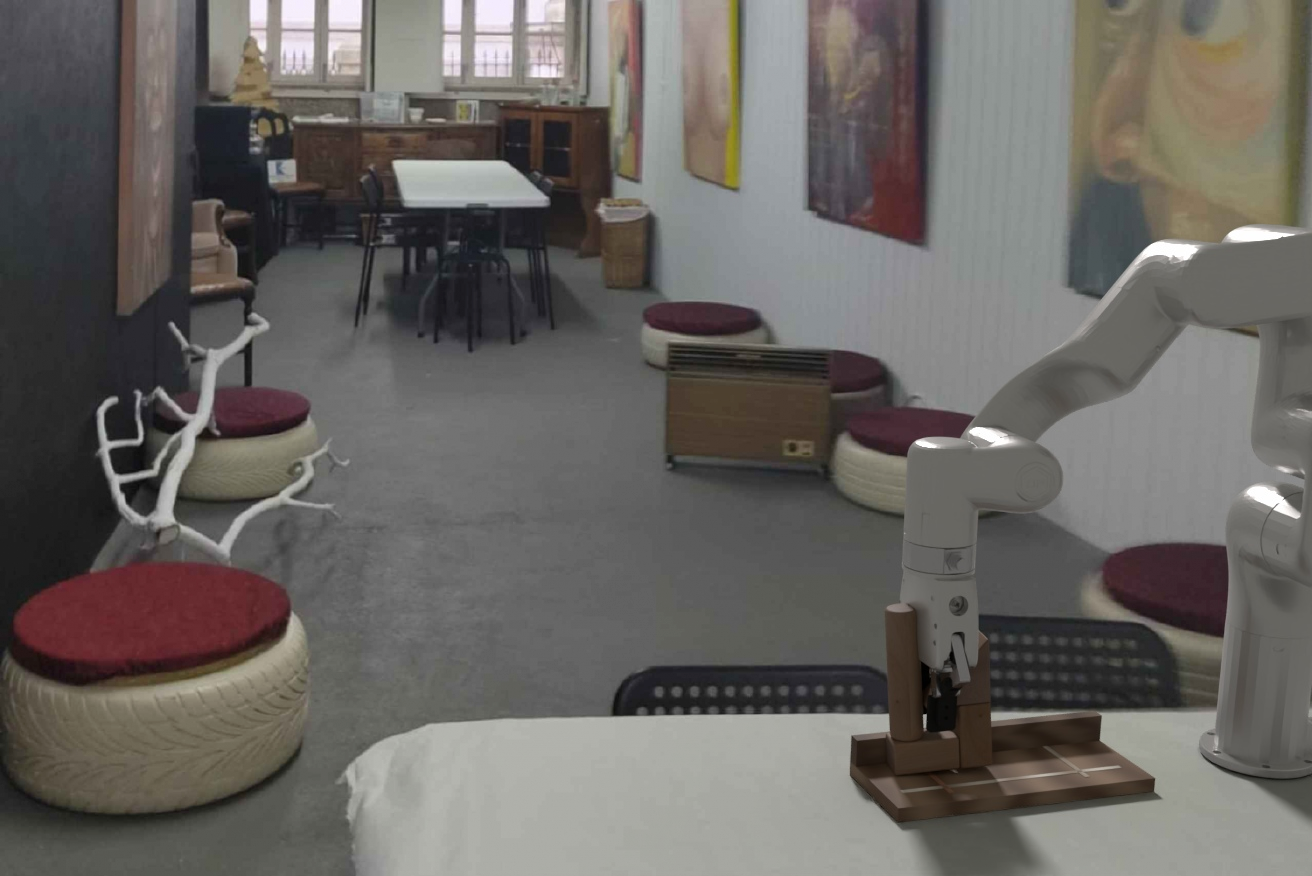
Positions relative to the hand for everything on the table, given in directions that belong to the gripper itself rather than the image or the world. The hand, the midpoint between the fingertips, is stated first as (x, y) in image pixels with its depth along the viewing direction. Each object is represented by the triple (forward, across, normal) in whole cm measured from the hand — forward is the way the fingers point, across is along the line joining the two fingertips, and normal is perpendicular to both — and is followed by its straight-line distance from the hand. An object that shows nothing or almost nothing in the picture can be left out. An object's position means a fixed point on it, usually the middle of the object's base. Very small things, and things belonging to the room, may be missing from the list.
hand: (930, 720), depth 158 cm
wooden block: (+5, 0, -1) cm, 5 cm away
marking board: (+7, -2, -8) cm, 11 cm away
